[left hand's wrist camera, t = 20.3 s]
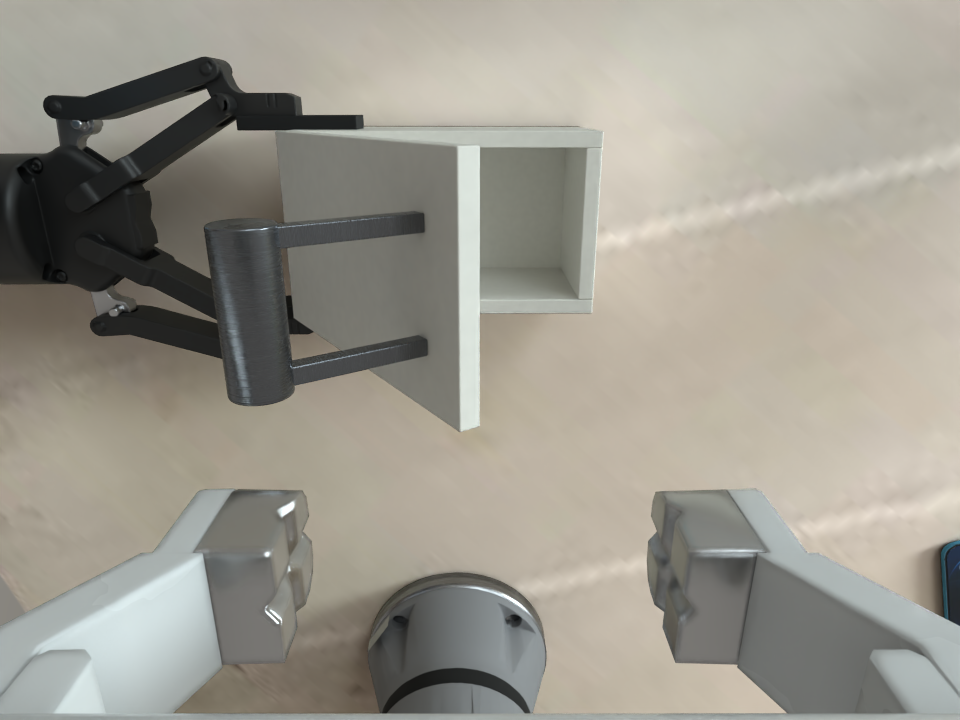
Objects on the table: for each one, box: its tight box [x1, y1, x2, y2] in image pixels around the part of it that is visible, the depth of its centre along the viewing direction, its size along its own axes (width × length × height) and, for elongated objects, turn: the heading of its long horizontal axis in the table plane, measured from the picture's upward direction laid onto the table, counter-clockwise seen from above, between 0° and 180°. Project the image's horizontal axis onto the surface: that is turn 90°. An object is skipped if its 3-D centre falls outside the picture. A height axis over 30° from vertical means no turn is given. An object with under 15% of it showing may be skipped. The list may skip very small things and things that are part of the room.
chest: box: [287, 126, 603, 314], centre depth 42 cm, size 17×10×9 cm, turn 90°
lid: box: [204, 131, 480, 432], centre depth 28 cm, size 18×10×8 cm
